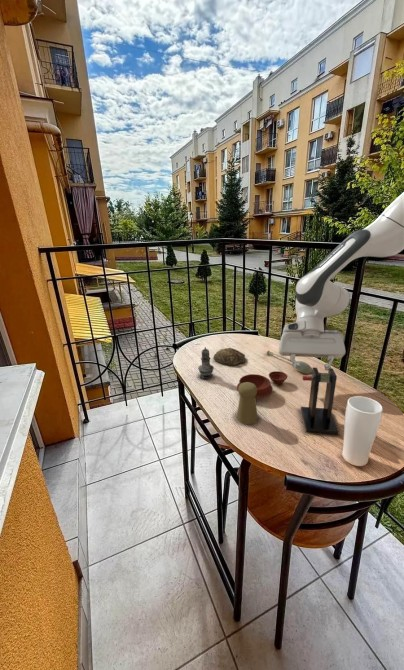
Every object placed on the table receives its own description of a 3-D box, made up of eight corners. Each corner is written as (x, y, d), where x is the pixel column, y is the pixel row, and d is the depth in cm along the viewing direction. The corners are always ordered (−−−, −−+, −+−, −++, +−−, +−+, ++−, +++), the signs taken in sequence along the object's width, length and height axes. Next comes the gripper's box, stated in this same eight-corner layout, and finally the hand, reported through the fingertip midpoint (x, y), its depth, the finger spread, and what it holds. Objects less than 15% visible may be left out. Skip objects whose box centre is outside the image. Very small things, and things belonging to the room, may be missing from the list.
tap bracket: (300, 410, 84) (305, 362, 78) (329, 412, 82) (336, 363, 77) (305, 432, 75) (311, 380, 69) (338, 435, 73) (346, 382, 68)
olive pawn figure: (236, 410, 85) (237, 378, 81) (257, 411, 84) (258, 379, 80) (236, 423, 79) (236, 390, 75) (258, 425, 78) (259, 390, 74)
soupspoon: (303, 377, 103) (315, 373, 106) (305, 369, 102) (316, 365, 105) (262, 355, 121) (273, 352, 124) (263, 348, 119) (274, 345, 123)
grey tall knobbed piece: (195, 376, 105) (193, 347, 101) (205, 371, 109) (204, 342, 105) (206, 381, 102) (205, 351, 97) (217, 375, 106) (216, 346, 101)
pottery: (229, 391, 95) (229, 379, 94) (271, 374, 105) (272, 363, 104) (253, 407, 86) (253, 395, 84) (297, 387, 96) (298, 376, 94)
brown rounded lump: (209, 359, 119) (209, 348, 117) (229, 350, 127) (229, 340, 125) (231, 369, 110) (231, 357, 108) (251, 359, 118) (252, 348, 116)
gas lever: (302, 381, 88) (302, 374, 89) (322, 383, 87) (322, 375, 88) (312, 381, 73) (312, 372, 73) (337, 383, 72) (337, 373, 72)
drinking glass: (376, 460, 65) (389, 405, 60) (361, 475, 61) (373, 418, 56) (348, 444, 70) (357, 392, 65) (332, 456, 66) (341, 402, 61)
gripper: (340, 334, 95) (344, 373, 90) (278, 333, 99) (278, 370, 94) (345, 326, 90) (350, 367, 84) (280, 325, 94) (280, 364, 88)
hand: (312, 369), depth 89 cm, fingers open, 8 cm apart
